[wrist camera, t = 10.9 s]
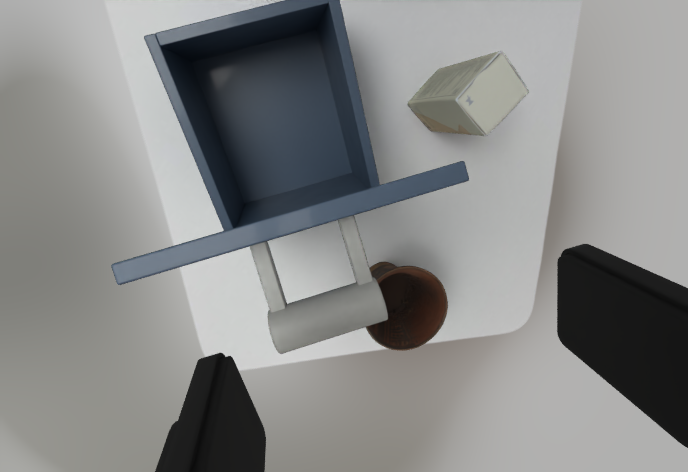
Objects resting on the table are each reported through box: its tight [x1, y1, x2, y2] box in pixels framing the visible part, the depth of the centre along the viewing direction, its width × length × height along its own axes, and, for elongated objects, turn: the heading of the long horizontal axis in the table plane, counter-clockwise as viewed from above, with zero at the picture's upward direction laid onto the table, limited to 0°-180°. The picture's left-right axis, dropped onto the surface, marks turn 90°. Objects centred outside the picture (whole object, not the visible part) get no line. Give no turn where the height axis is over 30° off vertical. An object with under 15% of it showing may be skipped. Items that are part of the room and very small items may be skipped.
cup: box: [366, 262, 448, 350], centre depth 39 cm, size 9×9×10 cm
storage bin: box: [144, 0, 380, 231], centre depth 31 cm, size 16×14×10 cm
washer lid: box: [112, 161, 469, 354], centre depth 21 cm, size 16×14×6 cm
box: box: [408, 51, 529, 136], centre depth 33 cm, size 5×4×11 cm
